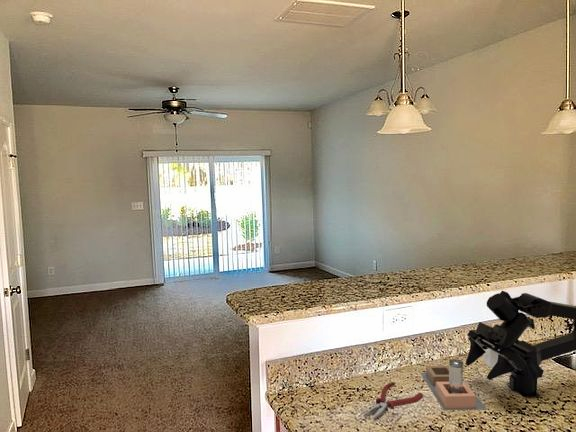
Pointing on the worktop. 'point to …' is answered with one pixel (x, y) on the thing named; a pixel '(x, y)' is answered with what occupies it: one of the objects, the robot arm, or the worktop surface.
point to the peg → (455, 376)
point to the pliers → (390, 402)
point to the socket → (455, 396)
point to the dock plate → (442, 375)
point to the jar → (490, 357)
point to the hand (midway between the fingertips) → (476, 371)
